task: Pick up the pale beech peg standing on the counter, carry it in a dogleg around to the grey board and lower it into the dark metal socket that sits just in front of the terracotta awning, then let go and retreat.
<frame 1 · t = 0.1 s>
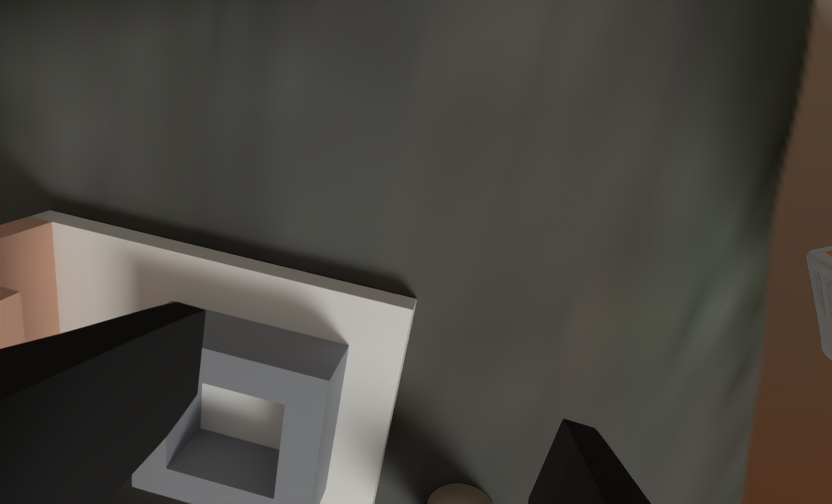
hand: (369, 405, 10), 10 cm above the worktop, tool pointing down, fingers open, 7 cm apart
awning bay: (220, 374, 23), on the worktop
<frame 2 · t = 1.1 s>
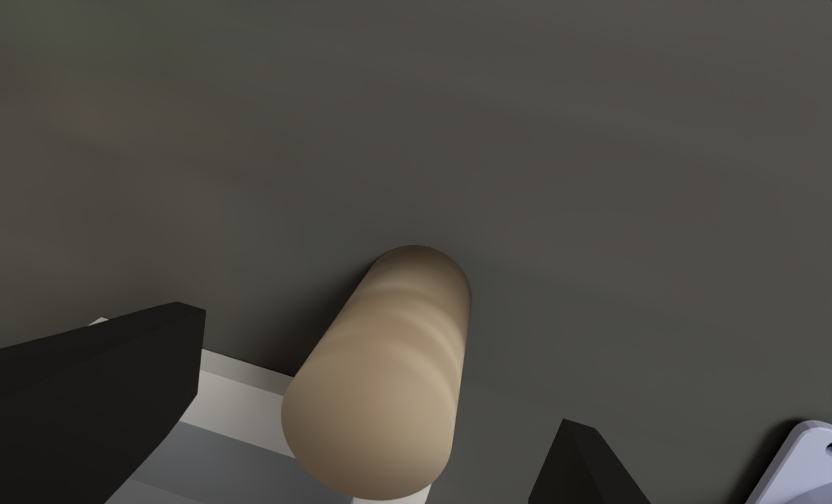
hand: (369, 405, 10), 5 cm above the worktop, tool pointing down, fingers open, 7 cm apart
peg: (416, 297, 15), on the worktop
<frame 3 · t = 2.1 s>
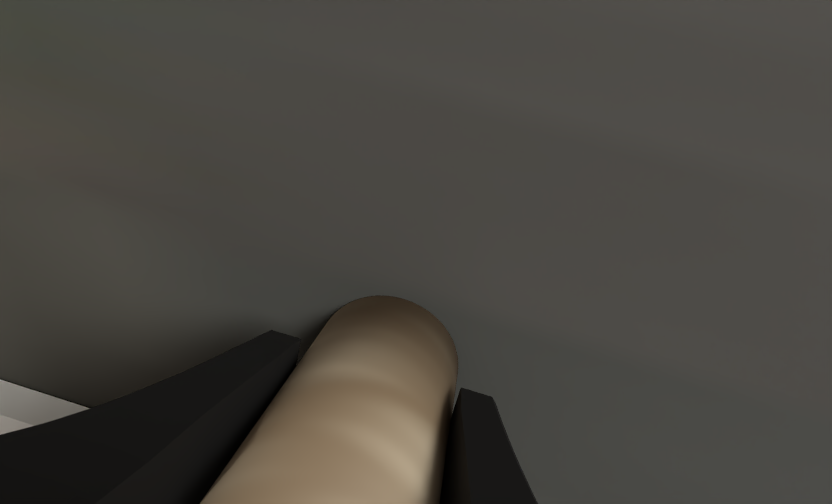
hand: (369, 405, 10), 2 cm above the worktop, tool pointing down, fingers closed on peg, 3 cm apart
peg: (387, 361, 11), on the worktop, touching gripper
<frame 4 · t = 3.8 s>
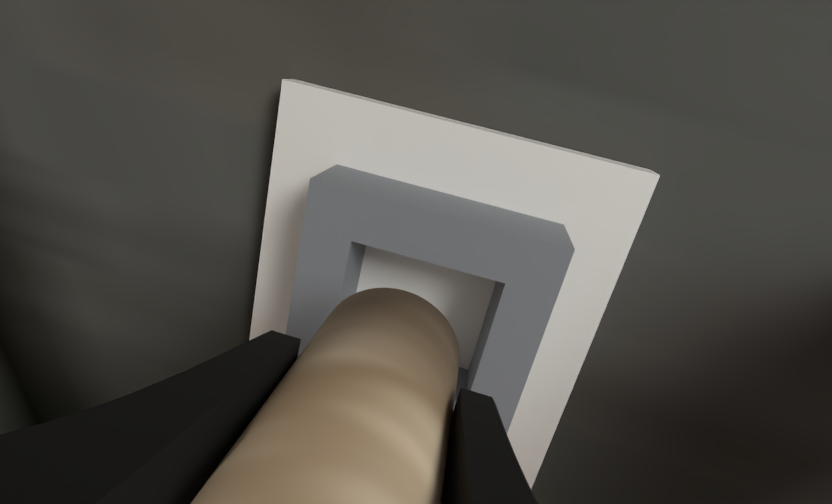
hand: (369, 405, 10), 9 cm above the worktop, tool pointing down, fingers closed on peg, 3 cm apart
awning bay: (413, 332, 19), on the worktop
peg: (389, 353, 11), point 7 cm above the worktop, touching gripper
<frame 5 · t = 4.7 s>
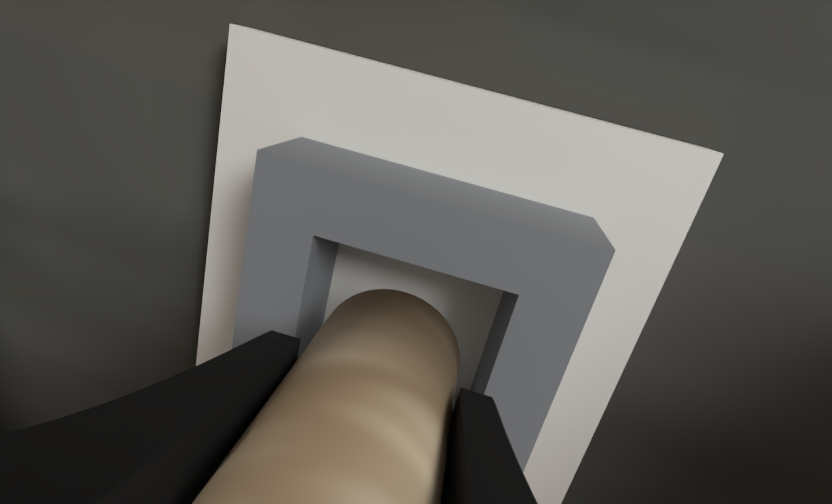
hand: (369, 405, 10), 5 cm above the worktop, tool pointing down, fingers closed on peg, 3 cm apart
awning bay: (399, 349, 16), on the worktop
peg: (388, 354, 11), point 4 cm above the worktop, touching gripper
when the fingers open (4 cm above the worktop, at t = 5.4 s): peg drops 1 cm, resting on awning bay.
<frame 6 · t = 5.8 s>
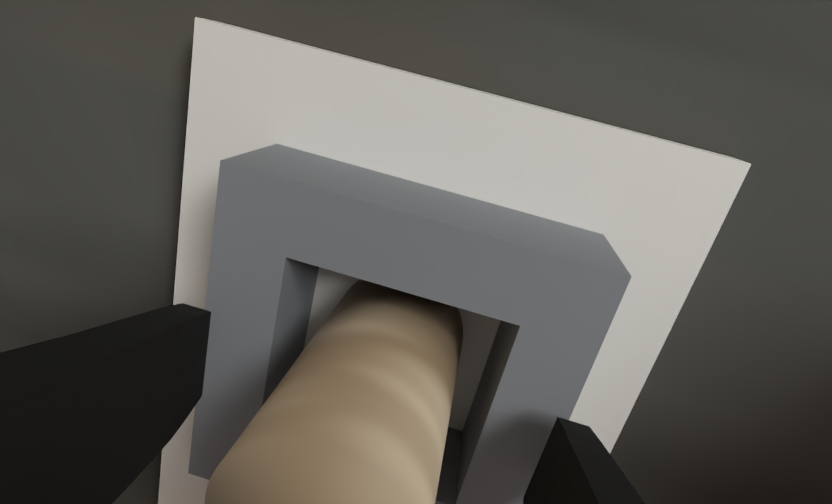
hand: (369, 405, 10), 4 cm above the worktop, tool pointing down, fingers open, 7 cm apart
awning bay: (389, 375, 14), on the worktop
peg: (399, 329, 13), point 1 cm above the worktop, touching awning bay
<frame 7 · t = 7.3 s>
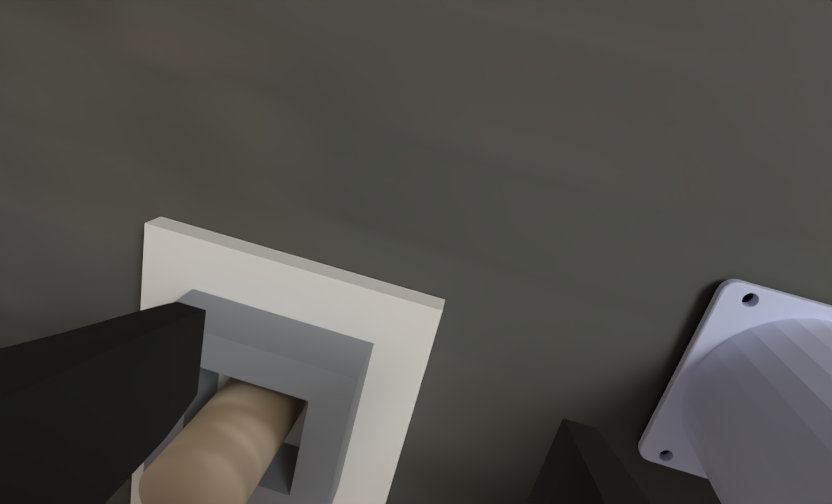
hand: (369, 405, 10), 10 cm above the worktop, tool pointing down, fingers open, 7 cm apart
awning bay: (272, 415, 23), on the worktop
peg: (269, 391, 21), point 1 cm above the worktop, touching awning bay
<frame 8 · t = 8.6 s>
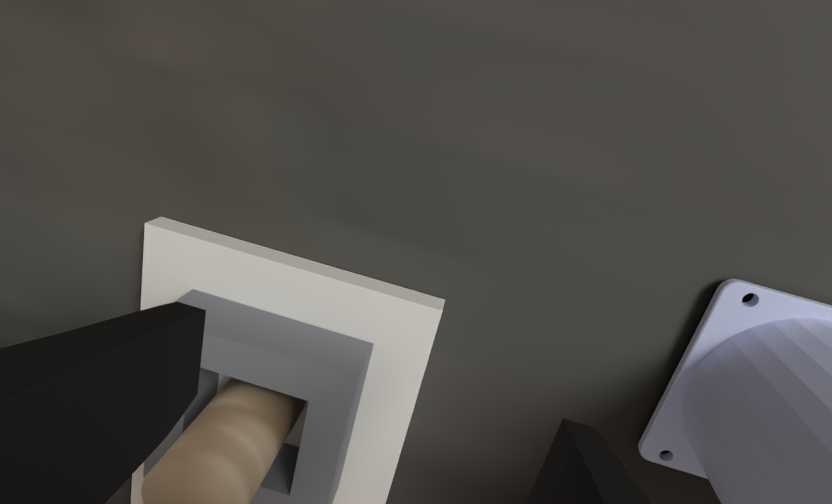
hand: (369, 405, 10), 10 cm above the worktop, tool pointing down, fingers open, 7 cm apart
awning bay: (273, 415, 23), on the worktop
peg: (269, 391, 21), point 1 cm above the worktop, touching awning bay
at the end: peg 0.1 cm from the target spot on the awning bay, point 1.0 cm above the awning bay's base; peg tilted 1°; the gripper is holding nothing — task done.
